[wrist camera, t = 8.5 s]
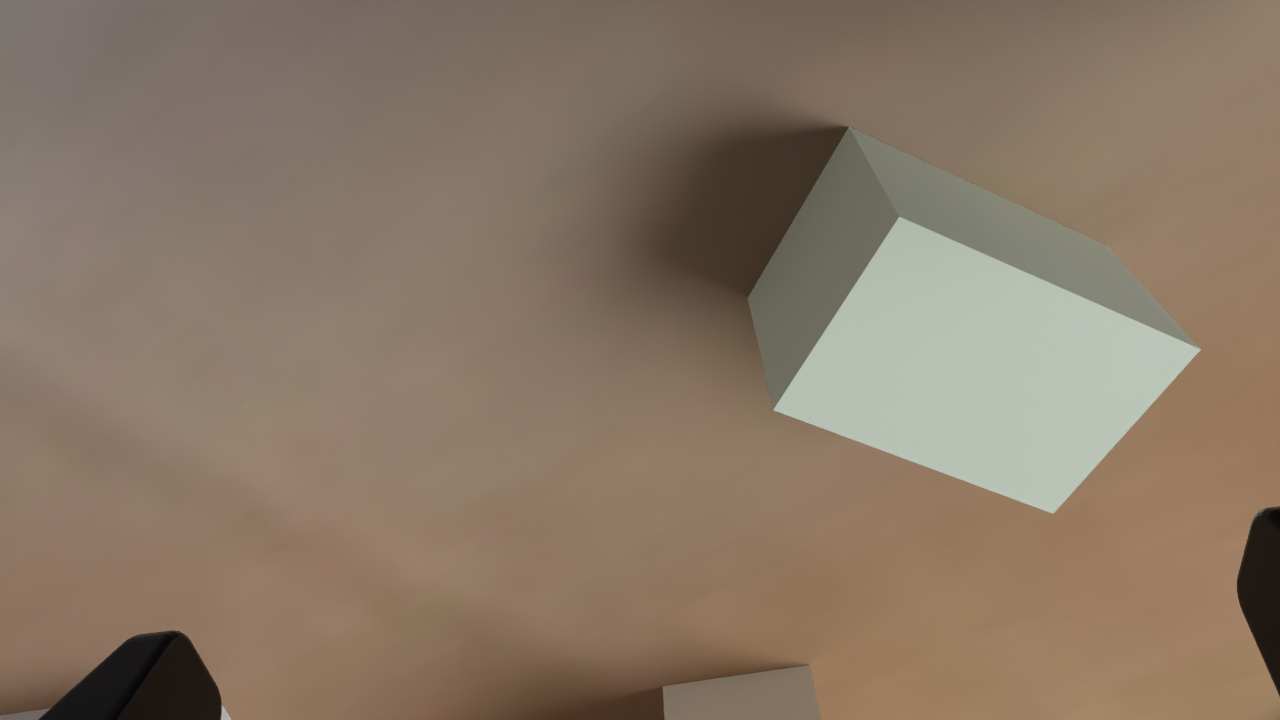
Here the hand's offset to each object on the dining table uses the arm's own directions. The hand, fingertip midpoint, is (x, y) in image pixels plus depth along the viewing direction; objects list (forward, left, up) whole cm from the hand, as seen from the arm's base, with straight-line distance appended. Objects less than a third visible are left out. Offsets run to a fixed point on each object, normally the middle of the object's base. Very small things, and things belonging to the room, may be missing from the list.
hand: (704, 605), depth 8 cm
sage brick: (-5, +4, -12) cm, 14 cm away
